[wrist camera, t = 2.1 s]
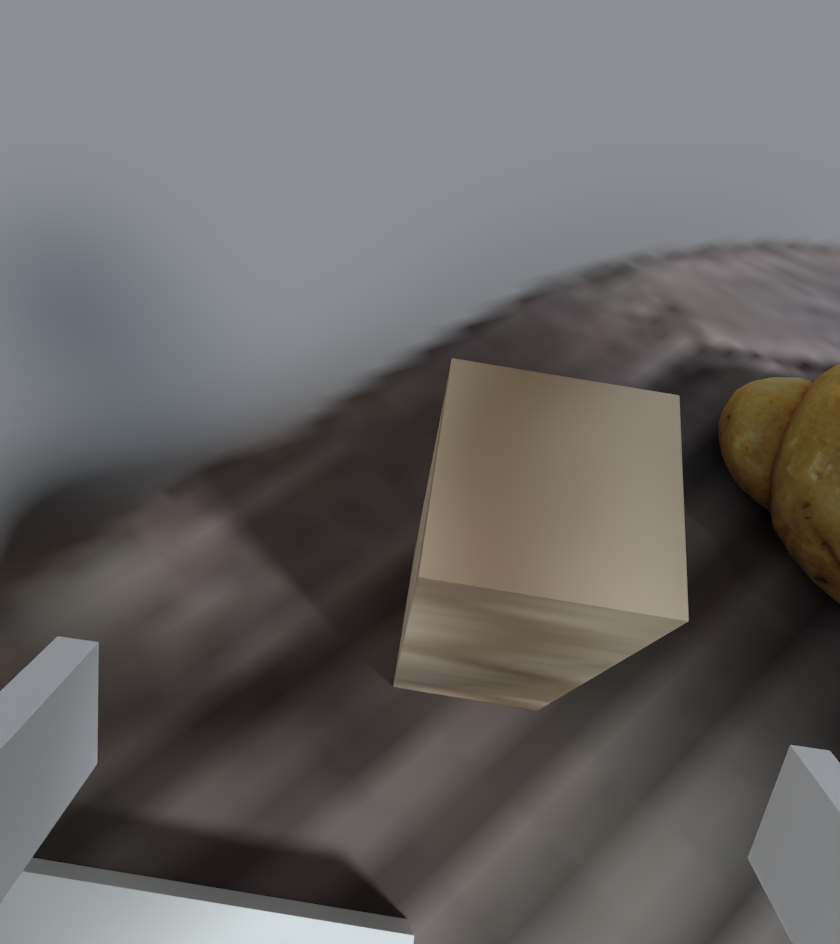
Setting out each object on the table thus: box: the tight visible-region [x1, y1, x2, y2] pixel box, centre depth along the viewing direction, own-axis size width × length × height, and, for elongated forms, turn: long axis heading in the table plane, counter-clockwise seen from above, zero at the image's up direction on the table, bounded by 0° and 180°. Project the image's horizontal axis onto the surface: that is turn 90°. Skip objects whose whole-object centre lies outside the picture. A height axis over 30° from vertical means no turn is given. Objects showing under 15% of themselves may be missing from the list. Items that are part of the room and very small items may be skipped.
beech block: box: [393, 358, 689, 711], centre depth 19 cm, size 5×5×12 cm
